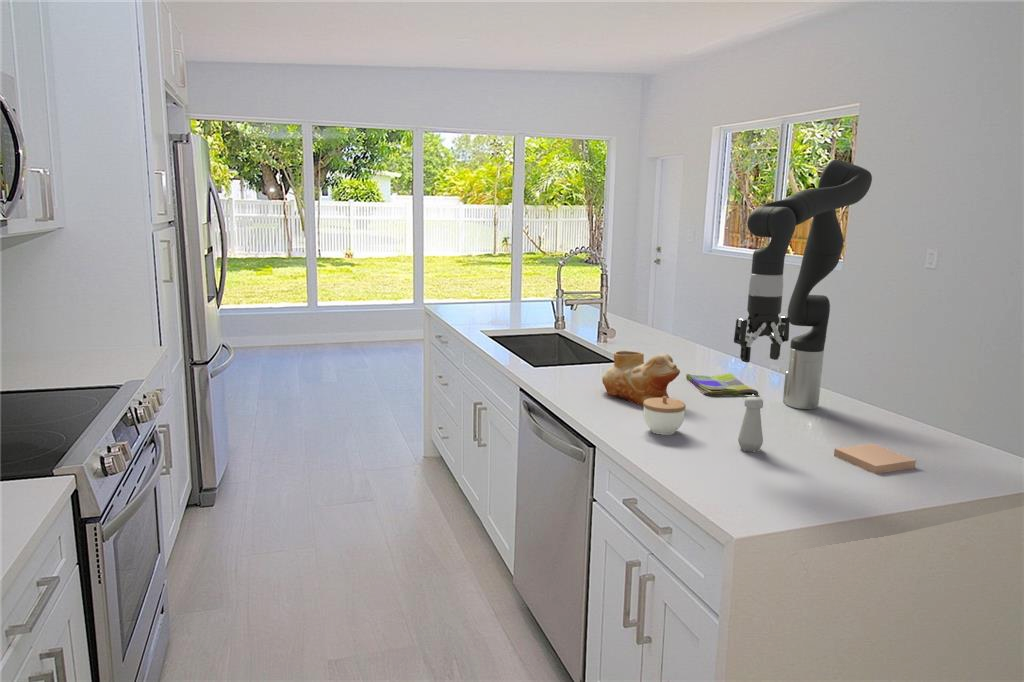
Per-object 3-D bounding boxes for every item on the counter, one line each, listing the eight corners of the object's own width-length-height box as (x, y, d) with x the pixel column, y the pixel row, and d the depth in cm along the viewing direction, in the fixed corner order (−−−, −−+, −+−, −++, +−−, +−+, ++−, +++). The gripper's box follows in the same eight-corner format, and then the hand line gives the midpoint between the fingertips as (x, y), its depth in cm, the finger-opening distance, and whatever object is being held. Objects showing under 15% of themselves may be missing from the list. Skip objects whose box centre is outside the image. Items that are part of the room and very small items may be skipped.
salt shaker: (746, 454, 169) (750, 401, 166) (732, 446, 174) (736, 395, 172) (767, 452, 171) (772, 400, 168) (752, 444, 176) (757, 393, 174)
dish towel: (733, 379, 245) (734, 372, 244) (760, 398, 221) (761, 390, 221) (683, 379, 244) (684, 371, 244) (705, 398, 220) (705, 389, 220)
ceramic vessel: (659, 411, 203) (661, 360, 201) (592, 392, 223) (594, 346, 220) (688, 403, 212) (691, 354, 209) (621, 386, 232) (623, 341, 229)
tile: (834, 448, 169) (875, 466, 158) (873, 443, 173) (916, 460, 162) (833, 457, 169) (874, 475, 158) (872, 452, 173) (914, 469, 162)
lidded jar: (653, 439, 179) (655, 403, 177) (635, 426, 189) (636, 392, 187) (691, 436, 182) (693, 401, 180) (671, 424, 192) (673, 390, 190)
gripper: (778, 290, 172) (772, 355, 175) (730, 292, 167) (725, 359, 170) (800, 294, 165) (794, 361, 169) (751, 296, 160) (746, 366, 163)
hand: (759, 360), depth 169 cm, fingers open, 8 cm apart
